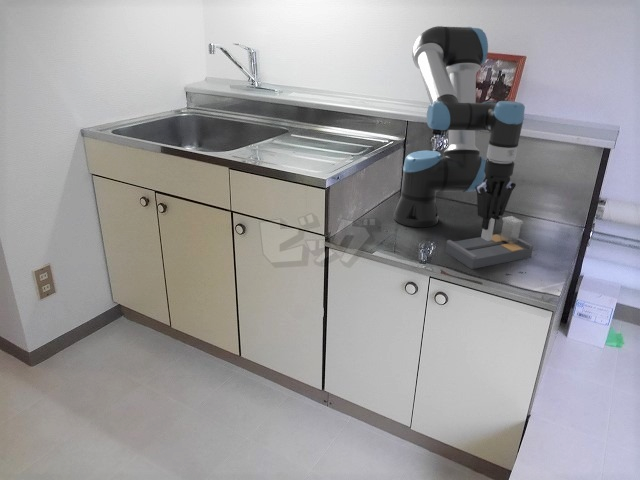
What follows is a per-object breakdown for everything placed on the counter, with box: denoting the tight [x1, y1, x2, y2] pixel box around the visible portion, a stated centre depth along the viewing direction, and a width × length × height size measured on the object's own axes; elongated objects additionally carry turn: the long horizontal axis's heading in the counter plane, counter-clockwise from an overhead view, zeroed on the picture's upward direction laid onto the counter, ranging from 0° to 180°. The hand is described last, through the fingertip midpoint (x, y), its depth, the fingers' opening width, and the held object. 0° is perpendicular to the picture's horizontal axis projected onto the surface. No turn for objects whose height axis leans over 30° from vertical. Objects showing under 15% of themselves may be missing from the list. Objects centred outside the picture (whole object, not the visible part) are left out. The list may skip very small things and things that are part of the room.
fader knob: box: [500, 215, 524, 244], centre depth 153 cm, size 5×4×7 cm
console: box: [445, 233, 534, 270], centre depth 152 cm, size 12×22×4 cm, turn 114°
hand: (486, 238), depth 150 cm, fingers closed
